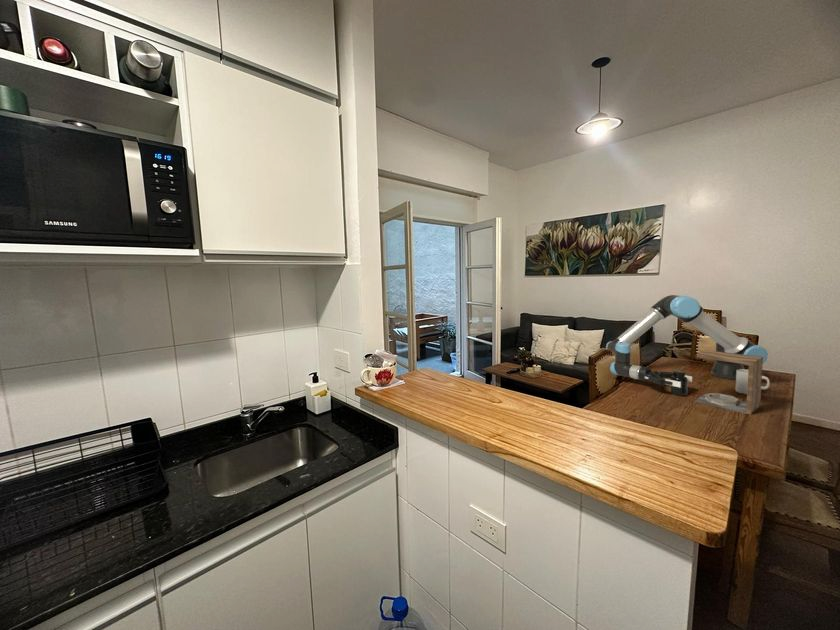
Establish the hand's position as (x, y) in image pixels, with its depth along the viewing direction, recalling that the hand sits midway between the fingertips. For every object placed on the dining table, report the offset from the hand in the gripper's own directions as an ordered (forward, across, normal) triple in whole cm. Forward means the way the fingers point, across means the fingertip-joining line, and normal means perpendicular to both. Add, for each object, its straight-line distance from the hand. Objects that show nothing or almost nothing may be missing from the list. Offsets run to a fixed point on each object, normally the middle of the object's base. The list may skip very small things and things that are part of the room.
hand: (686, 382), depth 165 cm
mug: (+18, -28, -7) cm, 34 cm away
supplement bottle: (-3, 0, -7) cm, 8 cm away
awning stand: (+16, 0, -7) cm, 17 cm away
